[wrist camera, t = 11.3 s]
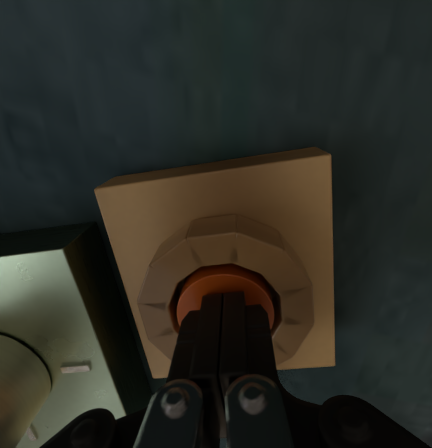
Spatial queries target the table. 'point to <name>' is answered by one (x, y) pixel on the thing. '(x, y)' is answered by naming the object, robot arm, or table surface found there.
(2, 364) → the rotary dial knob
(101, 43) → the table surface
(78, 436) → the robot arm
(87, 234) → the control knob panel
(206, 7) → the table surface
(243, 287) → the button
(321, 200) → the button block
